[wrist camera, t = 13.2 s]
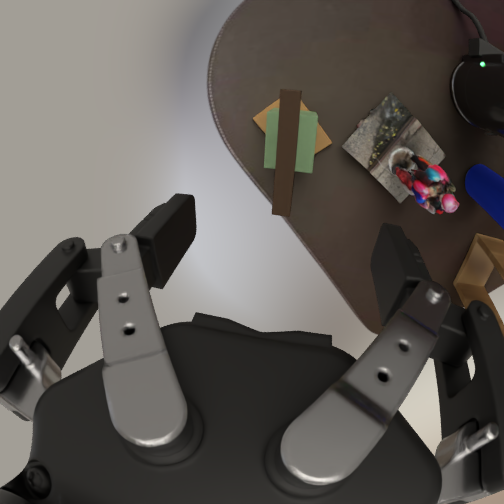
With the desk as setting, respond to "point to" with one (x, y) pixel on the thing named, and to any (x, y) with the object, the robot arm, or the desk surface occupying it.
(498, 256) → the wooden frame
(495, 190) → the beverage can
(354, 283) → the desk surface
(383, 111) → the statue
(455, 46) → the desk surface
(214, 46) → the desk surface
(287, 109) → the green block with crossbars
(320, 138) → the mat
